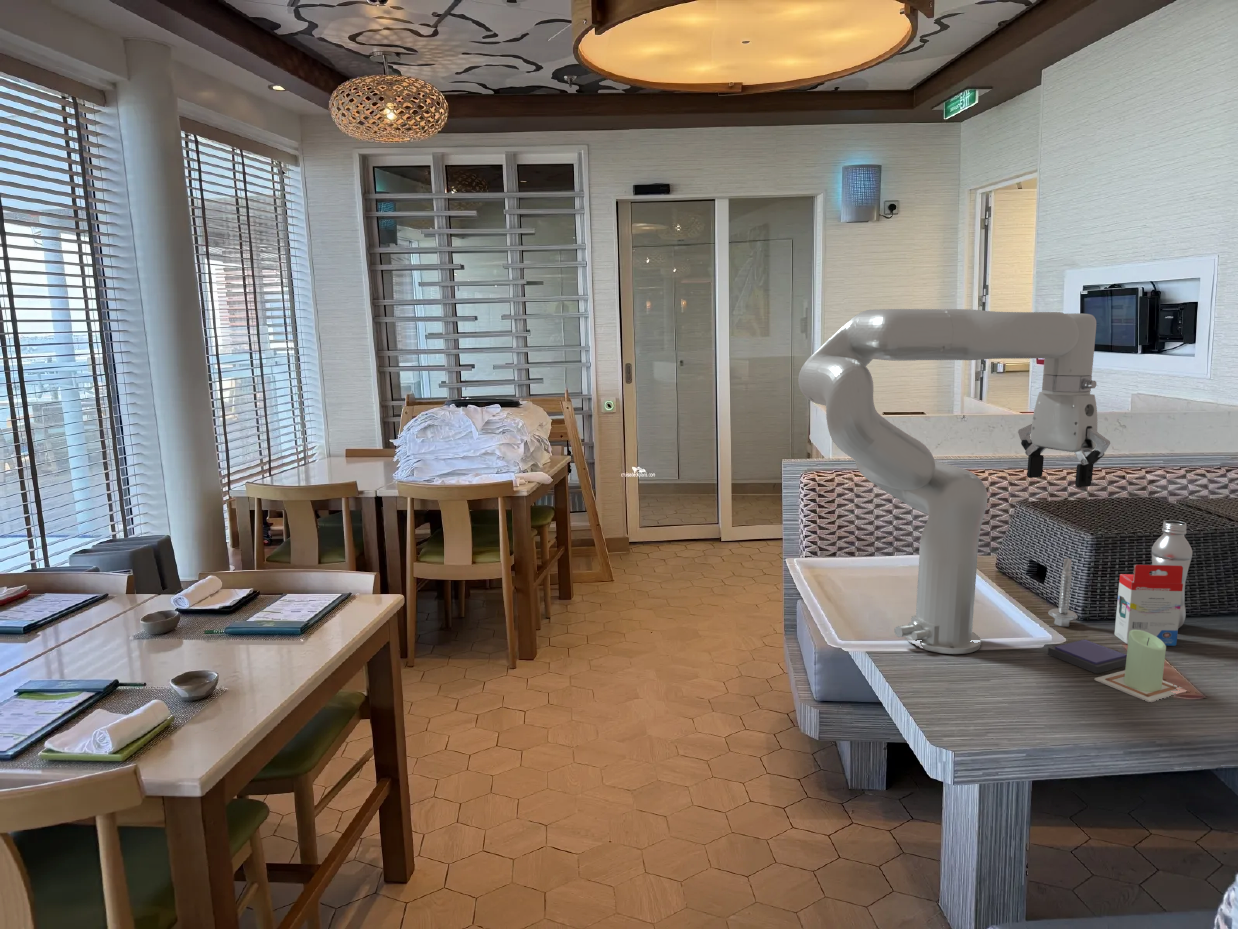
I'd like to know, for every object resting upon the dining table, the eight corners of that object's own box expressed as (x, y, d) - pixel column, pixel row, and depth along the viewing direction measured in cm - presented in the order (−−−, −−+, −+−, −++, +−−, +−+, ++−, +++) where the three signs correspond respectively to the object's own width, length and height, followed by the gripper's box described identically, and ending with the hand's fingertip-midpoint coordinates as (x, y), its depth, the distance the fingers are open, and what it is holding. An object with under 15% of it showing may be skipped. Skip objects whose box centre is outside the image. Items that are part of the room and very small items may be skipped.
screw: (1081, 629, 157) (1054, 628, 157) (1068, 620, 162) (1042, 619, 162) (1087, 561, 155) (1060, 561, 155) (1074, 554, 160) (1048, 554, 160)
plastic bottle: (1183, 624, 159) (1195, 521, 156) (1184, 635, 154) (1196, 528, 150) (1143, 618, 163) (1154, 516, 159) (1143, 629, 157) (1154, 524, 154)
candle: (1168, 687, 132) (1173, 637, 130) (1150, 694, 129) (1156, 643, 128) (1135, 675, 136) (1140, 627, 134) (1117, 682, 133) (1122, 633, 132)
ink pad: (1096, 673, 137) (1097, 665, 137) (1047, 654, 145) (1048, 645, 145) (1132, 664, 141) (1133, 655, 141) (1083, 645, 149) (1084, 637, 149)
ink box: (1162, 636, 153) (1170, 558, 151) (1177, 646, 149) (1186, 566, 146) (1112, 635, 154) (1120, 557, 152) (1126, 645, 149) (1134, 565, 147)
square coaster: (1149, 702, 127) (1150, 700, 127) (1094, 680, 135) (1094, 677, 135) (1187, 691, 131) (1187, 689, 131) (1131, 670, 139) (1131, 667, 139)
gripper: (1128, 388, 141) (1118, 488, 144) (1038, 381, 157) (1031, 472, 160) (1097, 389, 138) (1088, 492, 141) (1009, 382, 154) (1002, 475, 156)
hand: (1058, 481), depth 150 cm, fingers open, 9 cm apart
